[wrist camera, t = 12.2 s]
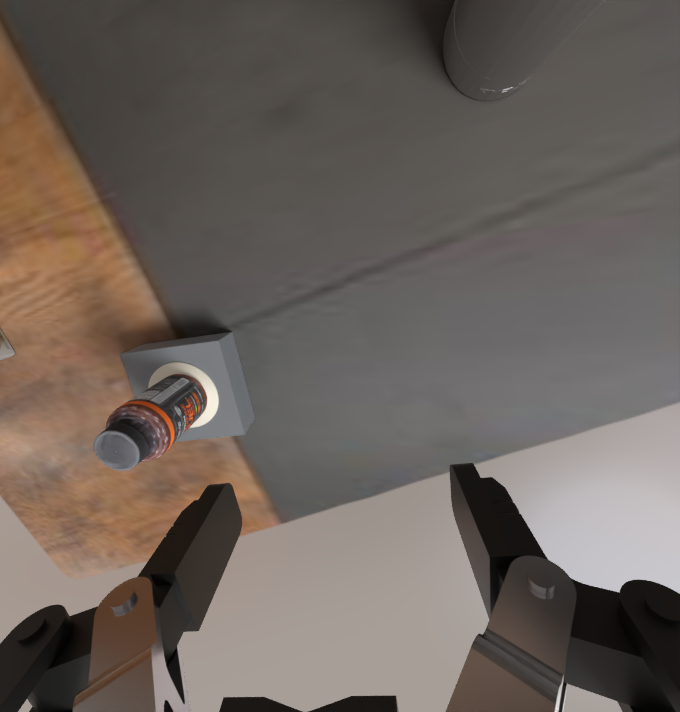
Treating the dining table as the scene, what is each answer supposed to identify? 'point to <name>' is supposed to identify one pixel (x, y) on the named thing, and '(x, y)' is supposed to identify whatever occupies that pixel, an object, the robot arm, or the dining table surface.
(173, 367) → the base block
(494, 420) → the dining table surface
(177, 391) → the supplement bottle
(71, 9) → the dining table surface
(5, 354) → the coffee box
